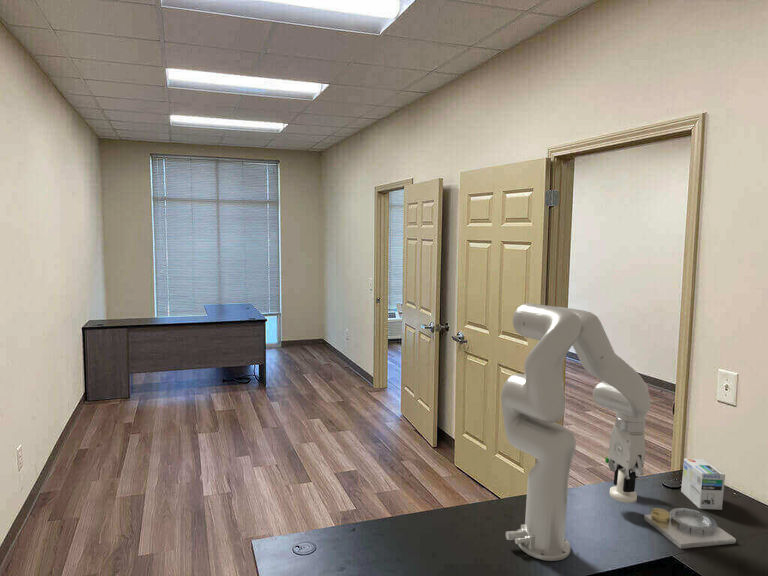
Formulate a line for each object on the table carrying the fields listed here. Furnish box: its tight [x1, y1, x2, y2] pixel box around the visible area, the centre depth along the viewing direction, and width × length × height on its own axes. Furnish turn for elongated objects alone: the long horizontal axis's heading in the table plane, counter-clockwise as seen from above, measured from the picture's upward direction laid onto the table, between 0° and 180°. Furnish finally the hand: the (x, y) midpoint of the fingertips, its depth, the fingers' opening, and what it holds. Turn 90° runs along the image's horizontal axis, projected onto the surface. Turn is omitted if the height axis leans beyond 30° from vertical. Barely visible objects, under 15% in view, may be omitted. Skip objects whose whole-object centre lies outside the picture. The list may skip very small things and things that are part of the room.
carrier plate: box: [643, 507, 737, 549], centre depth 146 cm, size 16×14×3 cm
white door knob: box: [609, 469, 638, 504], centre depth 155 cm, size 7×7×8 cm
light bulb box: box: [680, 458, 726, 511], centre depth 163 cm, size 11×7×11 cm, turn 179°
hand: (623, 487), depth 155 cm, fingers closed on white door knob, 3 cm apart
